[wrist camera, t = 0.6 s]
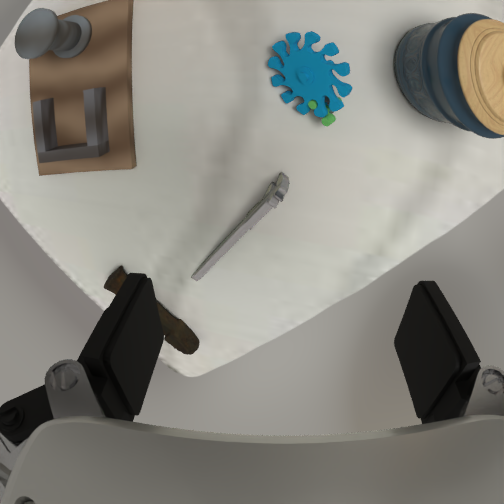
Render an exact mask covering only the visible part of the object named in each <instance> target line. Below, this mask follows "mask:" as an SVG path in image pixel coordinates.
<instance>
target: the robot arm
mask: <svg viewBox="0 0 504 504" xmlns="http://www.w3.org/2000/svg"><path fill="white" fill-rule="evenodd" d="M163 340H164V332H163V328H162V324H161V320H160V316H159V311H158V307H157V303H156V298H155V293H154V289H153V284H152V280H151V278H147V276H146V274H142V273H129V274H128V276H127V277H126V279H125V281H124V282H123V284H122V286H121V287H120V289H119V291H118V292H117V294H116V296H115V297H114V299H113V301H112V303H111V304H110V306H109V307H108V308H107V309H106V310H105V311H104V313H103V314H102V316H101V318H100V320H99V321H98V323H97V325H96V327H95V328H94V330H93V332H92V334H91V336H90V338H89V339H88V341H87V343H86V345H85V347H84V349H83V350H82V352H81V354H80V356H79V358H78V360H77V361H75V360H72V359H67V360H62V361H59V362H57V363H55V364H54V365H53V366H51V367H50V368H49V370H48V371H47V373H46V376H45V385H43V386H41V387H38V388H36V389H34V390H32V391H30V392H27V393H25V394H23V395H21V396H19V397H17V398H14V399H12V400H10V401H7V402H6V403H4V404H3V405H2V406H1V407H0V504H504V372H503V371H502V370H501V369H500V368H498V367H495V366H491V365H490V366H489V365H488V366H484V367H483V368H481V367H480V365H479V363H480V362H481V361H480V359H479V357H478V355H477V353H476V351H475V350H474V347H473V345H472V344H471V342H470V340H469V338H468V336H467V334H466V333H465V331H464V329H463V327H462V325H461V324H460V322H459V320H458V319H457V317H456V315H455V313H454V312H453V310H452V308H451V307H450V305H449V303H448V302H447V300H446V298H445V297H444V295H443V293H442V292H441V290H440V289H439V287H438V285H437V284H436V282H435V281H420V282H419V283H418V284H417V285H415V286H414V287H413V290H412V293H411V296H410V299H409V302H408V304H407V307H406V310H405V313H404V315H403V318H402V321H401V323H400V326H399V329H398V331H397V334H396V336H395V340H394V344H395V349H396V352H397V355H398V358H399V361H400V364H401V366H402V370H403V373H404V376H405V379H406V382H407V385H408V388H409V391H410V395H411V398H412V401H413V405H414V408H415V412H416V415H417V417H418V418H421V421H422V424H421V425H414V426H408V427H401V428H394V429H387V430H379V431H369V432H359V433H346V434H331V435H304V436H268V435H266V436H265V435H242V434H226V433H214V432H203V431H194V430H185V429H178V428H170V427H162V426H156V425H149V424H142V423H137V422H133V419H134V416H135V415H139V413H140V410H141V408H142V405H143V401H144V398H145V395H146V392H147V389H148V386H149V383H150V380H151V376H152V374H153V370H154V367H155V364H156V361H157V359H158V356H159V353H160V350H161V347H162V344H163Z"/></svg>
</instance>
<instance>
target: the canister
mask: <svg viewBox="0 0 504 504" xmlns="http://www.w3.org/2000/svg"><path fill="white" fill-rule="evenodd" d="M395 73H396V78H397V81H398V84H399V86H400V89H401V91H402V92H403V94H404V96H405V97H406V99H407V100H408V101H409V102H410V103H411V104H412V105H413V106H414V107H415V108H416V109H417V110H418V111H420V112H421V113H422V114H424V115H425V116H427V117H429V118H431V119H433V120H436V121H439V122H444V123H450V124H453V125H455V126H457V127H459V128H461V129H463V130H467V131H471V132H474V133H475V134H477V135H479V136H482V137H485V138H492V139H494V138H501V137H504V23H502V22H500V21H497V20H493V19H491V18H489V17H487V16H484V15H481V14H476V13H467V14H463V15H460V16H458V17H451V18H447V19H444V20H442V21H440V22H437V23H428V24H424V25H420V26H418V27H415V28H414V29H412V30H411V31H409V32H408V33H407V34H406V35H405V36H404V38H403V39H402V40H401V42H400V43H399V45H398V48H397V50H396V54H395Z"/></svg>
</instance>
